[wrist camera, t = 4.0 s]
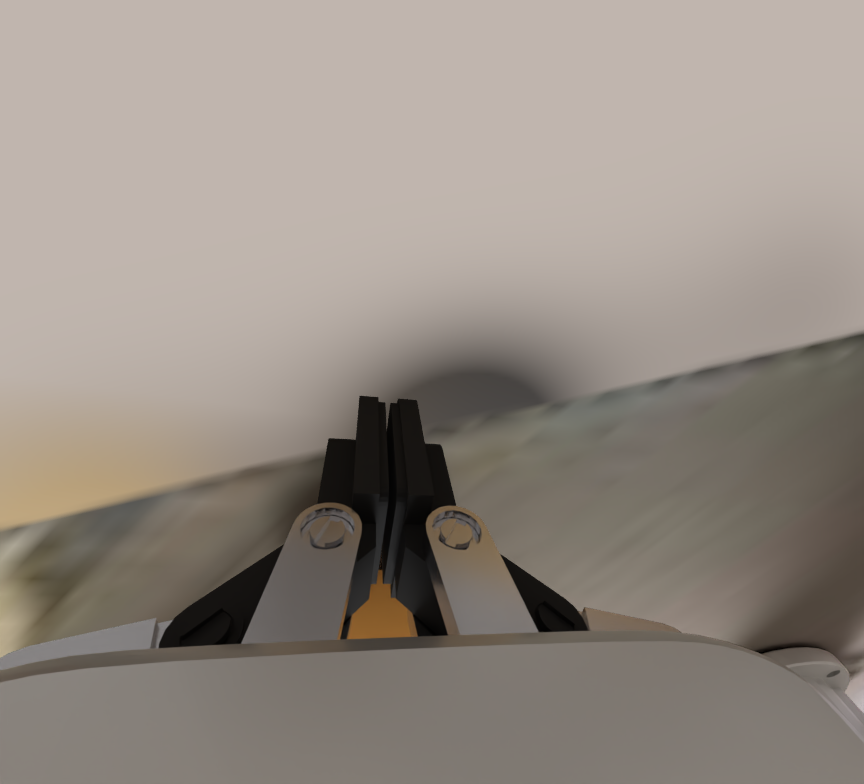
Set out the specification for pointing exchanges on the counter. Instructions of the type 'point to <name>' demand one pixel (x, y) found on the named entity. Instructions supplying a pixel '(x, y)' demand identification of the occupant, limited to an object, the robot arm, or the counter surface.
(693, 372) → the counter surface
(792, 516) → the counter surface
